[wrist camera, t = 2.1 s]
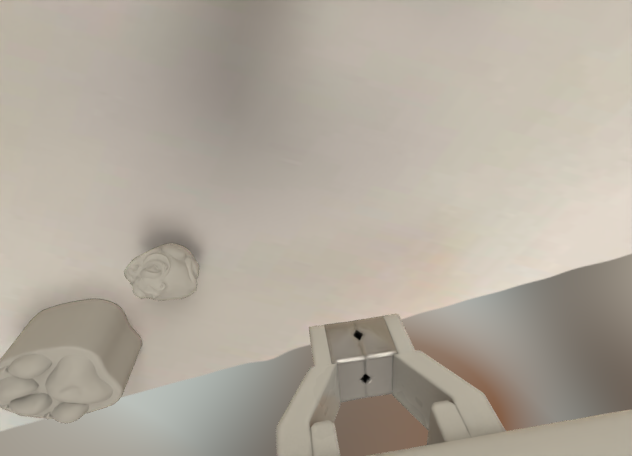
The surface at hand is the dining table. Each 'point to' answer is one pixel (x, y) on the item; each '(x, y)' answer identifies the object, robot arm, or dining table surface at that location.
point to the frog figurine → (163, 273)
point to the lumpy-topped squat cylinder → (69, 361)
